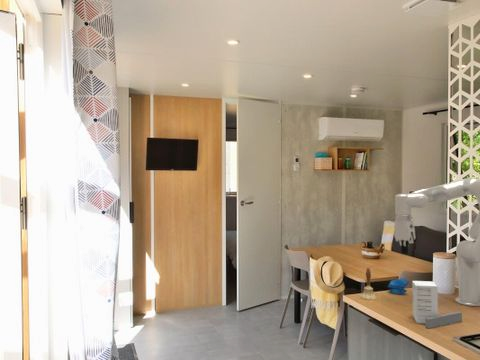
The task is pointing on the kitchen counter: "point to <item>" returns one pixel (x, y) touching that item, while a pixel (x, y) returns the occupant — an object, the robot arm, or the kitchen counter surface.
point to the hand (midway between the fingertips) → (404, 253)
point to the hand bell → (368, 288)
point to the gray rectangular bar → (443, 319)
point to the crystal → (398, 286)
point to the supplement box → (424, 300)
